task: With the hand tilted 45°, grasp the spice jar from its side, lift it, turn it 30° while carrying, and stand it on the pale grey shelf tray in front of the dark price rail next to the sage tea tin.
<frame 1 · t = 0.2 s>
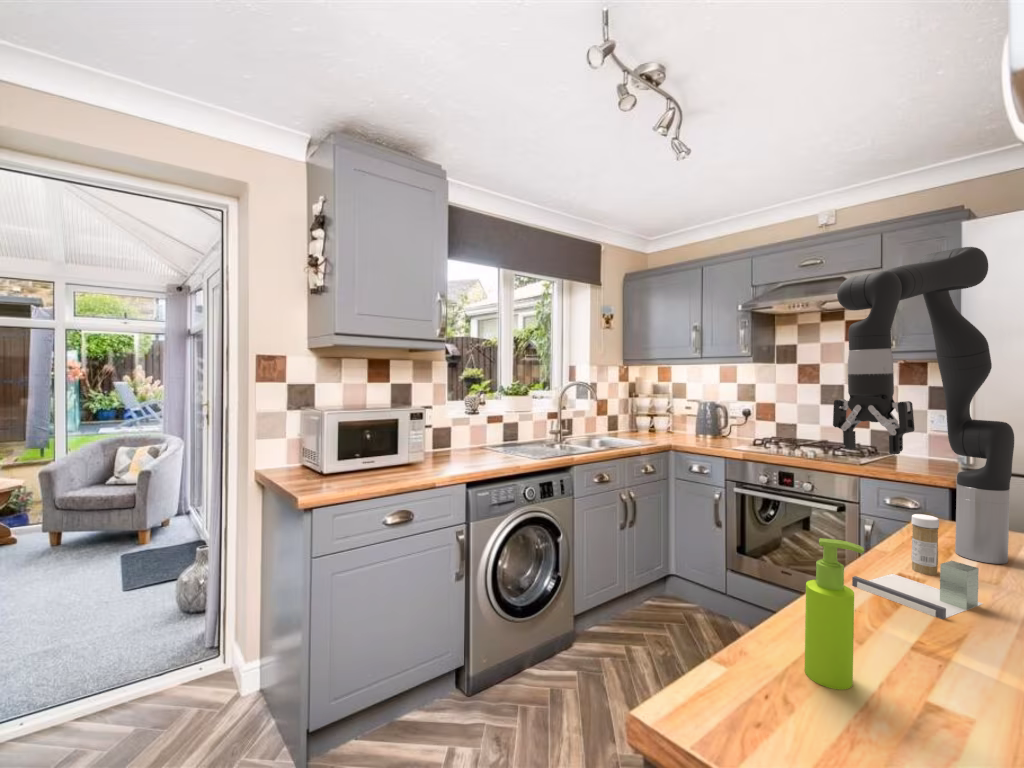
hand: (871, 451, 100), 28 cm above the countertop, tool pointing down, fingers open, 8 cm apart
shelf tray: (914, 601, 95), on the countertop
tea tin: (958, 603, 91), point 1 cm above the countertop, touching shelf tray
soap dispenser: (832, 679, 71), on the countertop
spice jar: (924, 578, 106), on the countertop
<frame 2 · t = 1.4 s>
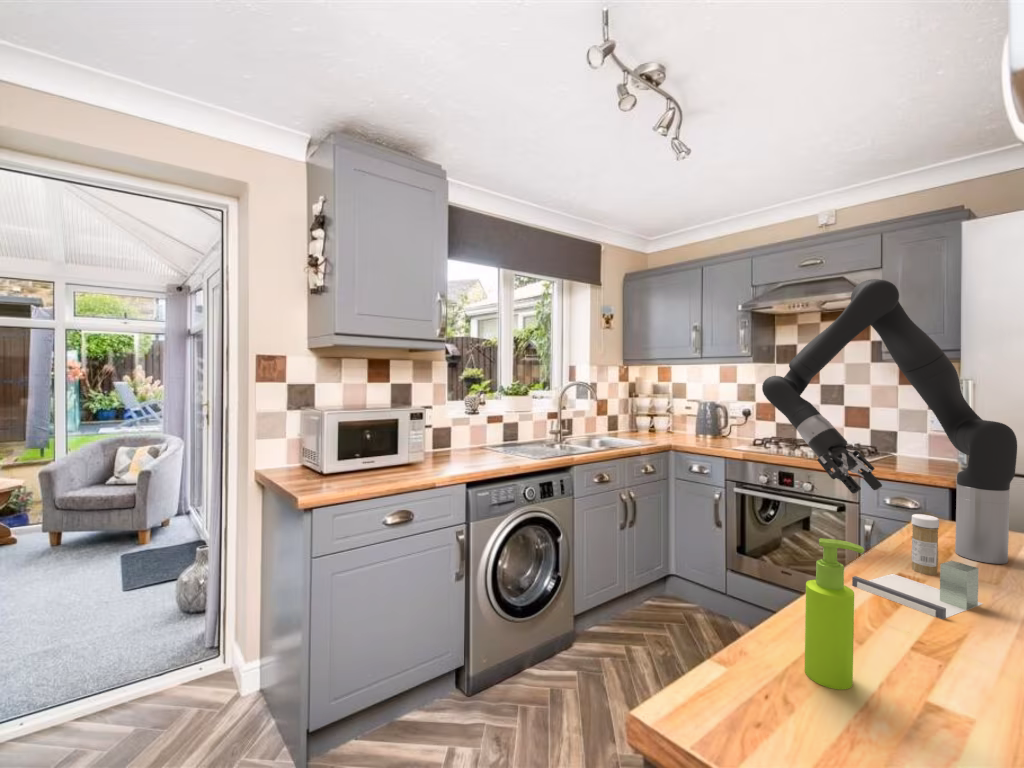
hand: (868, 490, 116), 17 cm above the countertop, tool tilted 45°, fingers open, 8 cm apart
nothing on the countertop moved.
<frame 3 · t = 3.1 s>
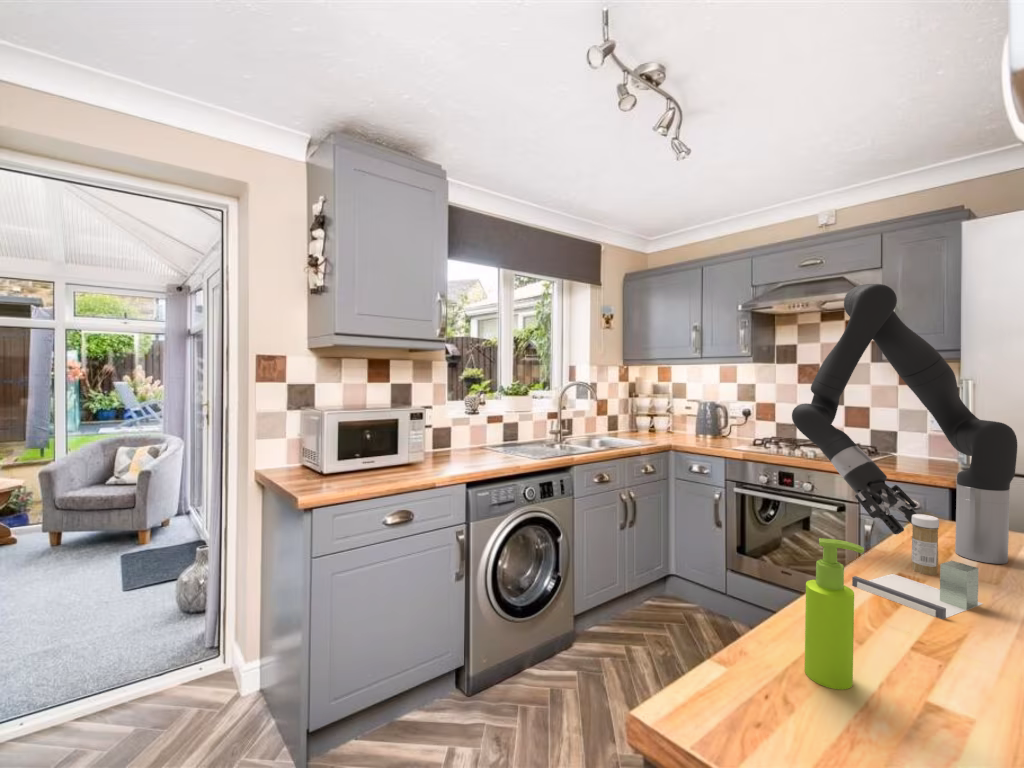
hand: (911, 530, 108), 10 cm above the countertop, tool tilted 45°, fingers open, 8 cm apart
nothing on the countertop moved.
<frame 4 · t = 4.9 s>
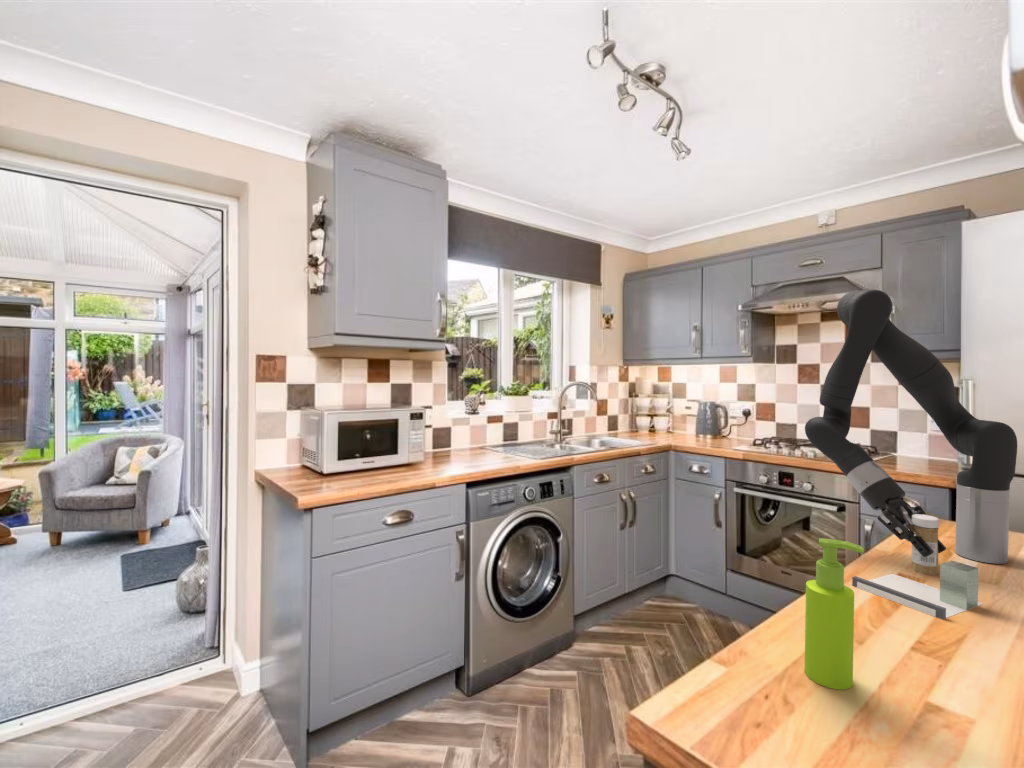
hand: (935, 552, 104), 6 cm above the countertop, tool tilted 45°, fingers closed on spice jar, 4 cm apart
spice jar: (924, 578, 106), on the countertop, touching gripper
everything else where it was.
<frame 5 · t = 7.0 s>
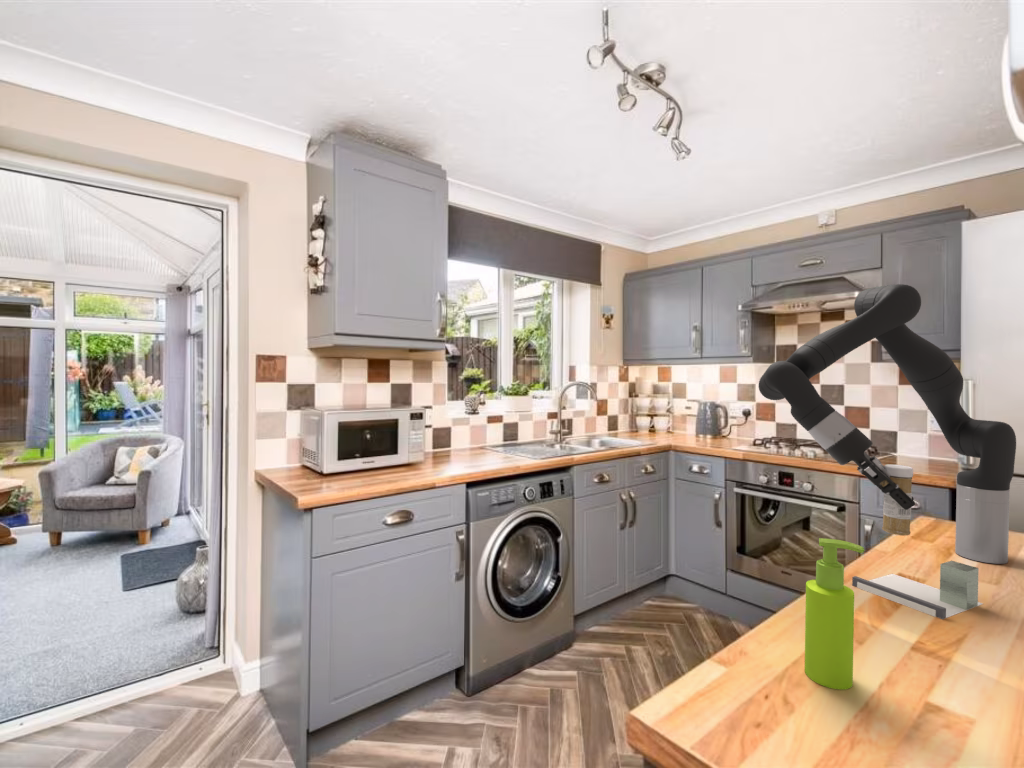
hand: (909, 504, 96), 19 cm above the countertop, tool tilted 45°, fingers closed on spice jar, 4 cm apart
spice jar: (895, 533, 98), point 12 cm above the countertop, touching gripper
everything else where it was.
when the fingers open (8 cm above the countertop, at t = 9.3 s): spice jar stays where it is, resting on shelf tray.
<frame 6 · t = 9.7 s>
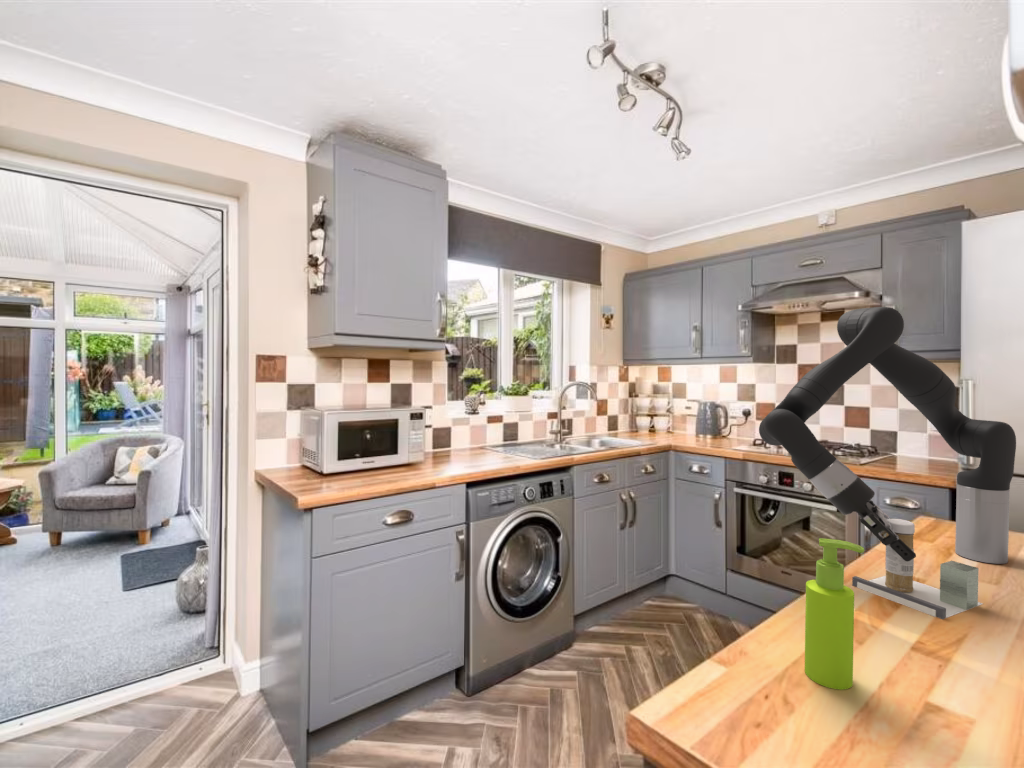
hand: (909, 552, 96), 9 cm above the countertop, tool tilted 45°, fingers open, 8 cm apart
spice jar: (898, 589, 97), point 1 cm above the countertop, touching shelf tray
everything else where it was.
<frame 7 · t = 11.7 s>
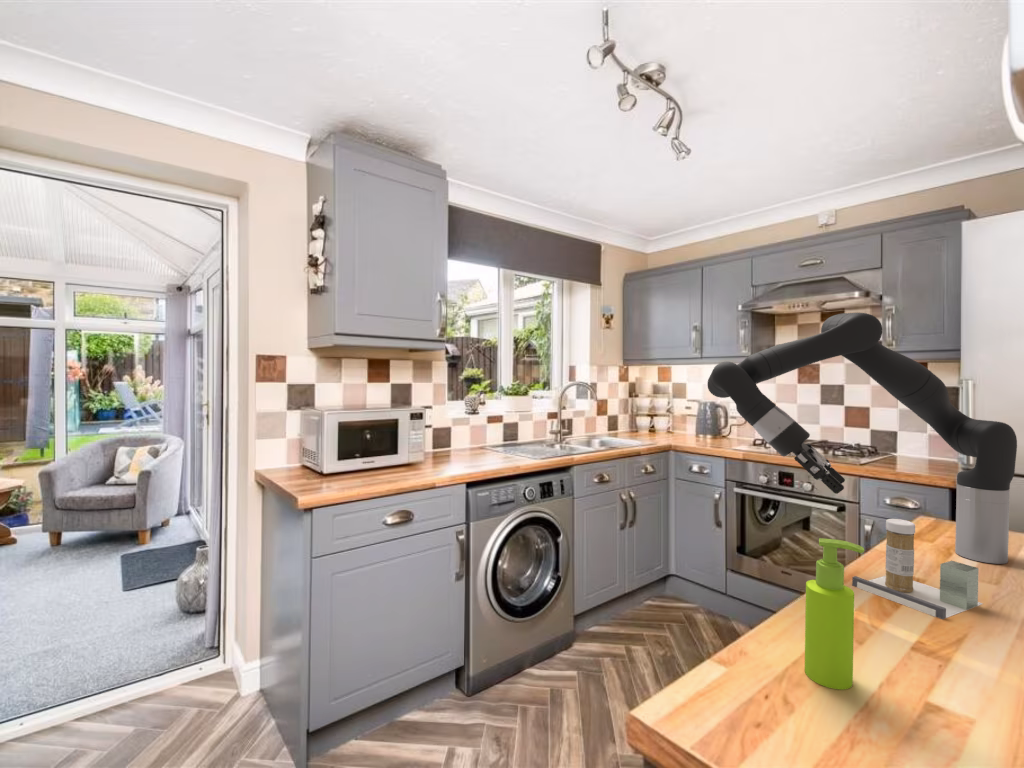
hand: (841, 487, 104), 20 cm above the countertop, tool tilted 45°, fingers open, 8 cm apart
nothing on the countertop moved.
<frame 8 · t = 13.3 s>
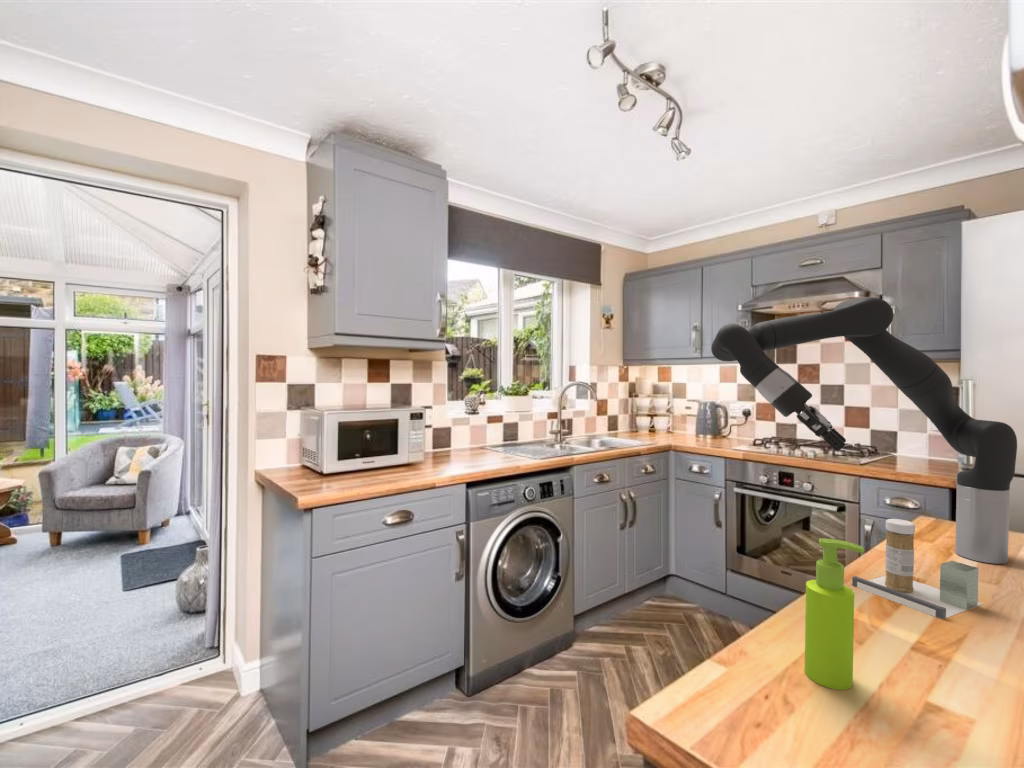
hand: (842, 445, 106), 29 cm above the countertop, tool tilted 45°, fingers open, 8 cm apart
nothing on the countertop moved.
at the end: spice jar inside the target area (0.5 cm from its centre), point 1.3 cm above the countertop; spice jar tilted 0°; the gripper is holding nothing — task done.
